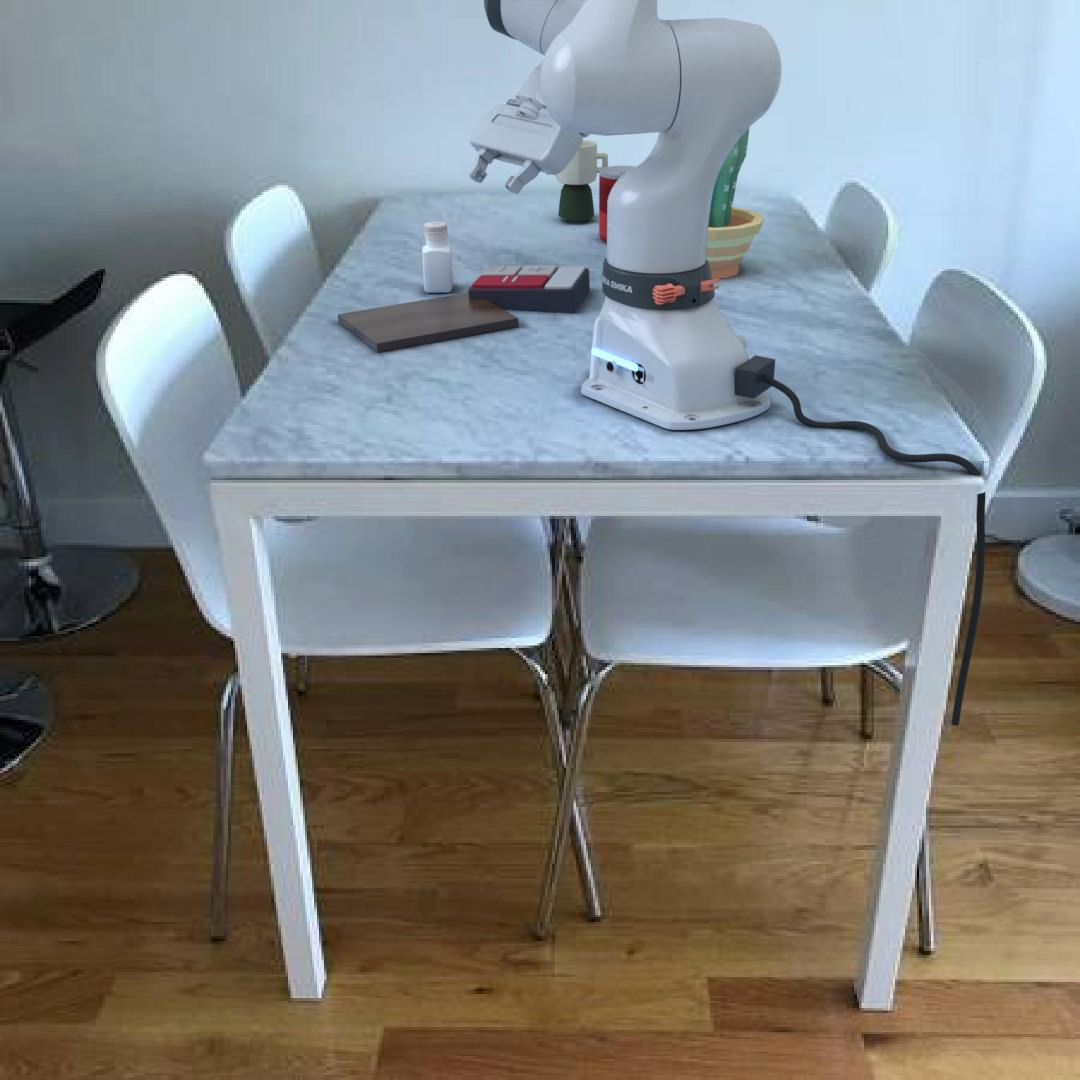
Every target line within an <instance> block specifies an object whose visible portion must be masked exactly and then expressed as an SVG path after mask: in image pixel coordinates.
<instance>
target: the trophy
mask: <svg viewBox="0 0 1080 1080" xmlns="http://www.w3.org/2000/svg"><path fill="white" fill-rule="evenodd" d="M598 160H602V161H601V162H602V163H601V166H598ZM605 167H609V154H608V153H606V152H598V142H596V141H593V140H589V139H588V140H587V139H583V142H582V144H581V146H580V148H579V149H578V151H577V153H576V154H575V155H574V157H573V158H572V160H571V161H570V162H569V164H568V165H567V166H566V168H565V169H564V170H563V171H561V172H560V173H558V174H556V175H555V178H556V179H555V180H556V181H557V182H558V183H560V184H563V185H562V187H561V190H560V196H559V204H558V215H557V216H558V217H559V218H560V219H563V220H566V221H567V222H569V221H571V222H583V221H587V220H590V219H592V218H594V216H595V208H594V207H595V206H594V198H593V191H592V188H591V185H590V184H592V183H594V182H596V179H597V177H598V174H600V170H601V169H603V168H605ZM544 174H545V175H547V176H549V175H550V176H551V175H552V174H548V173H545V172H544ZM552 176H553V175H552Z"/></svg>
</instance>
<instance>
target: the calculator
mask: <svg viewBox="0 0 1080 1080" xmlns="http://www.w3.org/2000/svg"><path fill="white" fill-rule="evenodd" d="M467 293H468V295H469V299H479V300H487V301H489V302H491V303H493V304H494V305H496V306H498V307H500V308H501V309H503V310H505V311H522V312H523V311H525V312H526V311H528V312H529V311H530V312H531V311H535V312H536V311H537V312H543V313H554V314H576V313H577V312H578V310H579V309H580V307H581V306H582V304H583V303H584V302H585V300H586V298H587V297H588V296H589V294H590V293H591V285H590V269H589V268H588V267H586V266H559V267H557V265H556V264H541V265H540V264H534V265H533V264H531V265H530V264H529V265H526V264H525V265H524V266H523V267H522V265H521V264H520V265H519V264H518V265H513V264H511V265H510V264H509V265H508V264H504V265H501V264H499V265H493V264H492V265H489V266H488V267H487V268H486V269H485V270H484V272H482V273H481V275H480V276H479V277H478V278H476V280H475V281H473V283H472V284H471V286H470V287H469V288H468V289H467Z"/></svg>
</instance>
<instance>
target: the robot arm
mask: <svg viewBox="0 0 1080 1080" xmlns="http://www.w3.org/2000/svg"><path fill="white" fill-rule="evenodd" d="M483 7H484V11H485V15H486V19H487V21H488V23H489V26H490V27H491V29H492V30H493V31H495V32H497V33H499V34H502V35H503V36H505V37H508V38H511V39H512V40H514V41H515V40H516V41H518V42H520V43H522V44H523V45H525V46H527V47H528V48H530V49H532V50H534V51H536V52H537V53H539V54H541V55H543V58H542V61H541V63H539V64H538V65H537V66H535V68H534V69H533V71H532V72H531V73H530V75H529V76H528V78H527V79H526V80H525V82H524V83H523V85H522V86H521V88H520V89H519V91H518V92H517V94H516V95H515V98H510V99H508V100H507V101H505V102H502V103H498V104H496V105H494V106H493V107H492V108H491V109H490V110H489V111H488V112H487V114H486V115H485V116H484V117H483V118H482V119H481V121H480V122H479V123H478V124H477V126H476V127H475V128H474V130H473V131H472V132H471V134H470V136H469V144H470V145H471V146H472V147H473V149H474V150H475V151H476V152H477V153H476V156H475V160H474V164H473V165H474V166H472V168H471V169H470V171H469V172H468V176H469V178H470V179H471V180H472V181H473V182H476V183H479V184H481V183H483V182H484V179H486V177H487V176H488V173H487V172H486V171H487V168H488V166H489V165H491V164H492V163H493V162H494V160H496V161H500V162H505V163H508V164H511V165H516V166H518V167H522V168H521V169H520V170H519V171H518V172H516V174H515V175H510V177H508V180H507V181H506V182H505V184H504V187H505V188H506V190H507V191H508V192H509V193H513V194H515V195H518V194H519V193H520V192H521V191H522V189H523V188H524V187H525V186H526V185H527V184H529V183H530V182H532V181H533V180H534V179H536V178H537V177H538V176H539V174H540V173H544V174H545V173H548V174H552V176H556V174H558V173H560V172H561V171H563V170H564V169H565V168H566V166H567V165H568V164H569V162H570V161H571V160H572V158H573V157H574V155H575V154H576V153H577V151H578V149H579V148H580V146H581V144H582V142H583V140H584V138H588V137H589V136H590V135H595V136H604V137H607V136H608V137H609V136H623V135H638V134H653V133H658V136H657V139H656V142H655V145H654V146H653V149H652V150H651V151H650V153H649V154H648V156H647V157H646V158H645V159H644V160H643V161H642V162H640V163H639V164H637V165H635V166H636V167H634V168H632V169H631V170H629V171H628V172H626V173H625V174H623V175H622V176H621V177H620V178H619V179H618V180H617V182H616V183H615V184H614V186H613V188H612V189H611V192H610V194H609V197H608V201H607V242H606V258H604V260H603V262H602V271H601V282H602V284H601V285H602V286H601V291H602V293H603V294H604V301H603V304H602V307H601V309H600V311H599V314H598V315H597V316H596V318H595V321H594V325H593V333H592V344H591V356H590V365H589V366H590V367H589V368H590V369H589V377H588V378H587V379H585V380H584V381H583V383H581V389H580V393H581V395H582V396H585V397H587V398H590V399H592V400H595V401H597V402H599V403H602V404H604V405H606V406H609V407H612V408H614V409H617V410H619V411H621V412H624V413H626V414H629V415H631V416H633V417H636V418H639V419H641V420H644V421H646V422H648V423H650V424H653V425H655V426H658V427H660V428H663V429H667V430H671V431H688V430H689V431H691V430H700V429H701V430H702V429H709V428H715V427H721V426H725V425H729V424H734V423H737V422H741V421H746V420H747V419H752V418H754V417H756V416H759V415H760V414H761V415H762V414H763V413H764V412H766V411H768V410H769V409H770V408H771V397H769V396H768V395H767V394H766V393H765V392H766V391H767V390H769V389H770V388H774V389H776V390H778V391H780V392H781V393H783V394H784V395H785V396H786V397H787V398H788V399H789V400H790V402H791V404H792V408H793V413H794V415H795V418H796V419H797V421H799V422H800V423H801V424H802V425H804V426H806V427H809V428H815V429H829V430H831V429H832V430H834V429H835V430H837V429H839V430H843V429H844V430H845V429H856V430H862V431H865V432H868V433H870V434H871V435H873V436H874V437H875V439H876V441H877V443H878V446H879V448H880V449H881V451H882V452H883V453H884V454H885V455H887V456H888V457H890V458H892V459H894V460H896V461H900V462H903V463H915V464H917V463H933V462H947V463H953V464H956V465H959V466H960V467H963V468H964V469H965V470H966V471H967V472H968V473H969V474H970V475H971V476H976V477H980V476H982V474H981V473H980V471H979V469H978V468H977V467H976V465H974V464H973V463H972V462H971V461H969V460H968V459H967V458H964V457H962V456H961V455H957V454H954V453H953V454H952V453H944V452H941V453H922V454H921V453H920V454H909V453H903V452H899V451H897V450H895V449H893V448H892V447H891V446H890V445H889V444H888V442H887V440H886V438H885V435H884V433H883V432H882V431H881V430H880V429H879V428H878V427H876V426H874V425H873V424H871V423H869V422H868V423H867V422H865V421H860V420H842V421H841V420H840V421H829V422H828V421H827V422H826V421H825V422H824V421H818V420H813V419H811V418H809V417H807V416H805V415H804V413H803V411H802V405H801V402H800V401H801V400H800V398H799V397H798V395H797V394H796V393H795V392H794V391H793V390H792V389H791V388H790V387H788V386H787V385H785V384H784V383H782V382H781V381H778V380H776V379H775V368H776V358H771V357H765V356H761V355H754V356H752V357H751V358H750V357H749V352H748V350H747V341H746V339H745V336H743V335H740V334H739V335H737V334H736V332H735V331H734V330H733V328H732V326H731V324H730V323H729V322H728V320H727V319H726V317H725V315H724V314H723V312H722V311H721V310H720V308H719V307H718V304H717V303H716V301H715V299H714V298H715V296H716V292H715V290H718V289H720V286H714V284H717V283H719V282H720V281H721V280H720V278H718V279H713V277H712V272H711V270H710V265H709V262H708V260H707V259H706V249H707V235H708V224H709V214H710V207H711V199H712V194H713V190H714V186H715V183H716V180H717V177H718V175H719V172H720V170H721V167H722V165H723V163H724V161H725V159H726V158H727V156H728V154H729V153H730V151H731V149H732V148H733V146H734V145H735V143H736V142H737V141H738V139H739V138H740V137H741V136H742V135H743V133H744V132H745V131H746V130H747V129H748V128H749V127H750V128H751V127H752V126H753V125H754V124H755V123H756V122H757V121H758V120H759V119H761V118H762V117H764V116H765V114H766V113H767V112H768V111H769V110H770V108H771V106H772V105H773V103H774V102H775V99H776V97H777V96H778V93H779V90H780V86H781V81H782V73H783V71H782V70H783V68H782V59H781V55H780V51H779V48H778V45H777V43H776V41H775V39H774V38H773V36H772V35H771V33H770V32H769V31H768V30H767V28H765V27H764V26H763V25H761V24H757V23H751V22H747V21H743V20H738V19H737V20H736V19H730V18H725V17H709V18H685V19H664V18H663V19H662V18H660V17H659V14H658V0H483ZM750 128H749V129H750ZM548 174H547V175H548ZM975 517H976V522H975V523H976V562H975V563H976V564H975V580H974V589H973V598H972V605H971V611H970V617H969V622H968V629H967V634H966V639H965V644H964V648H963V655H962V660H961V664H960V669H959V675H958V678H957V679H958V680H957V685H956V690H955V691H956V692H955V695H954V701H953V702H954V703H953V708H952V717H951V725H952V726H955V727H958V726H960V721H961V713H962V706H963V701H964V694H965V689H966V685H967V678H968V673H969V668H970V663H971V658H972V654H973V649H974V643H975V638H976V634H977V628H978V624H979V623H978V622H979V618H980V612H981V604H982V597H983V589H984V588H983V587H984V577H985V564H986V563H985V561H986V523H985V521H986V518H985V517H986V491H984V492H981V493H977V494H976V515H975Z"/></svg>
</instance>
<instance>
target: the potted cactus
mask: <svg viewBox="0 0 1080 1080" xmlns="http://www.w3.org/2000/svg"><path fill="white" fill-rule="evenodd" d="M750 128H751V126H750V127H749V128H748V129H747V130H746V131H745V132H744V133H743V135H742V136H741V137H740V138H739V139H738V141H737V142H736V143H735V145H734V146H733V148H732V149H731V151H730V153H729V154H728V156H727V158H726V159H725V161H724V163H723V165H722V167H721V170H720V172H719V175H718V177H717V180H716V183H715V186H714V190H713V194H712V199H711V207H710V214H709V224H708V235H707V249H706V259H707V260H708V262H709V265H710V270H711V272H712V277H713V279H727V278H730V277H734V276H737V275H738V273H739V272H740V267H739V263H740V262H741V261H742V260H743V259H744V257H745V256H746V254H747V253H748V251H749V249H750V247H751V245H752V243H753V240H754V237H755V235H756V234H757V235H758V234H759V232H760V230H761V228H762V226H763V222H764V221H765V220H764V219H765V216H763V215H762V214H760V213H758V212H757V211H754V210H751V209H746V208H741V207H735V206H733V205H734V204H733V203H734V199H735V193H736V188H737V182H738V175H739V174H740V171H741V169H742V166H743V164H744V161H745V160H746V157H747V152H748V143H749V136H750Z"/></svg>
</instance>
